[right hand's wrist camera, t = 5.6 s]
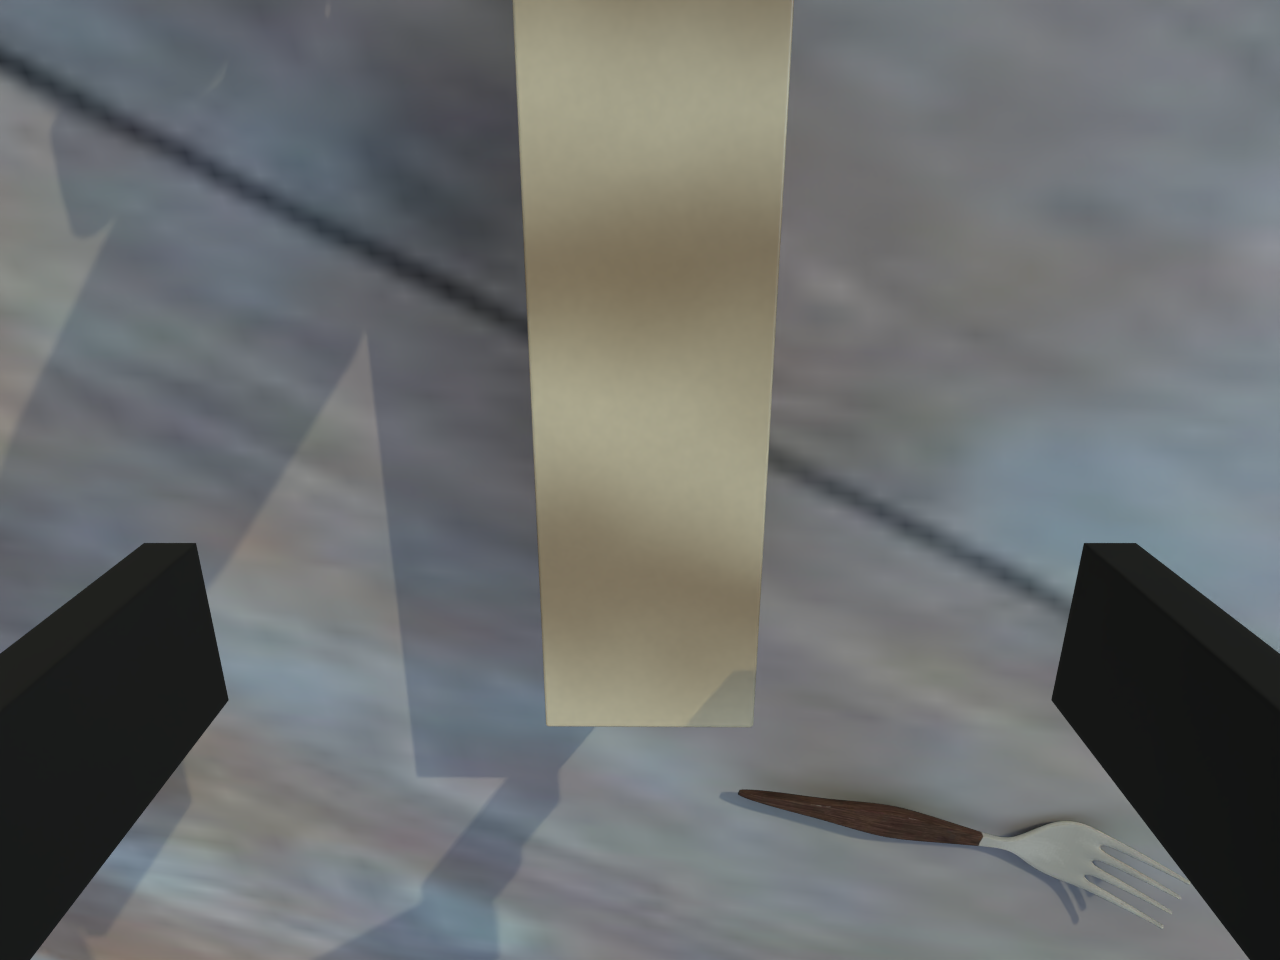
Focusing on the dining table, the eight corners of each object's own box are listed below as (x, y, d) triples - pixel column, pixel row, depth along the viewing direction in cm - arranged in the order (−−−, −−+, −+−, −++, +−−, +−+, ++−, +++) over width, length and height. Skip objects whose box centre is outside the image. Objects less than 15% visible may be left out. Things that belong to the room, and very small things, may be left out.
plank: (724, 576, 28) (753, 728, 20) (573, 576, 28) (545, 727, 20) (775, -732, 17) (875, -1430, 10) (532, -731, 17) (445, -1423, 10)
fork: (747, 753, 30) (754, 792, 28) (1161, 836, 31) (1195, 879, 29) (727, 809, 31) (732, 851, 29) (1131, 889, 32) (1161, 934, 30)
